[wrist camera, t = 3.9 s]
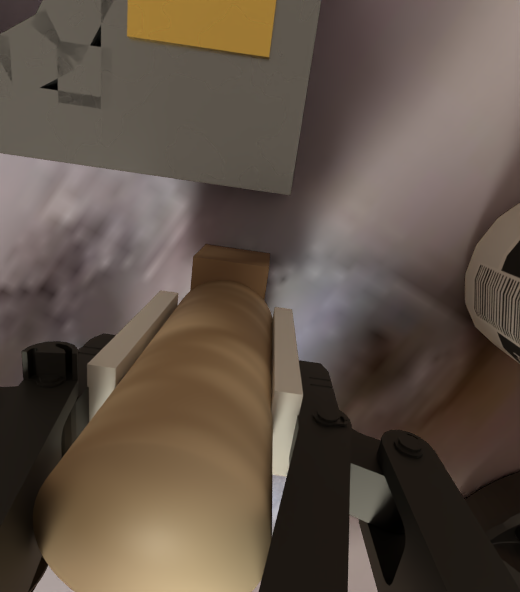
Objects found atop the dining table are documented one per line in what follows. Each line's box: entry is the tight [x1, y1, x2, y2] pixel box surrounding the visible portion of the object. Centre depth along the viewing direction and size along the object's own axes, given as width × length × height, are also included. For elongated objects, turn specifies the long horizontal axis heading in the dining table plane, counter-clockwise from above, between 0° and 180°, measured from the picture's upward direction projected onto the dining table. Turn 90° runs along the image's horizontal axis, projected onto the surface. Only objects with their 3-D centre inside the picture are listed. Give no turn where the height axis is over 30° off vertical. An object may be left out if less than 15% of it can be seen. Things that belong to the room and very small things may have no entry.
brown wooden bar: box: [190, 244, 270, 300], centre depth 19 cm, size 3×12×3 cm, turn 172°
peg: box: [33, 280, 273, 592], centre depth 11 cm, size 4×4×10 cm
